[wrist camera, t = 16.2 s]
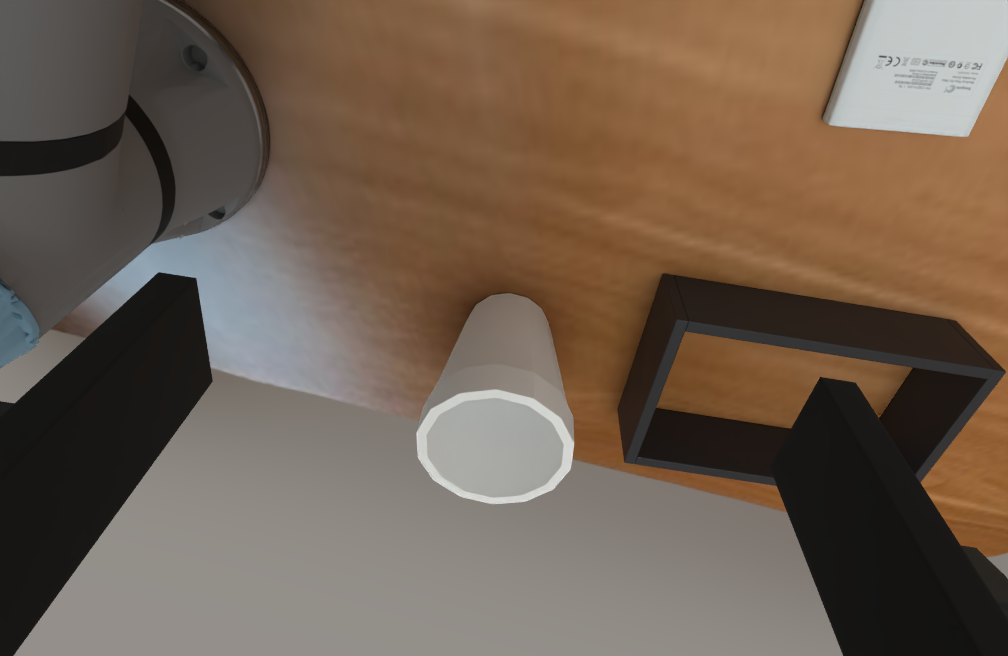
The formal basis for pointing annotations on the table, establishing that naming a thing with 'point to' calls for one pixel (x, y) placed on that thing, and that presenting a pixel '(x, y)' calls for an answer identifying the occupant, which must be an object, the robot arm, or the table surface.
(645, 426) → the organiser
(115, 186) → the robot arm
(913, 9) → the hard drive
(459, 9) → the table surface
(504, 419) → the foam cup
